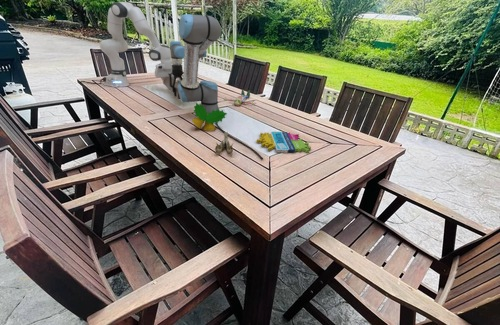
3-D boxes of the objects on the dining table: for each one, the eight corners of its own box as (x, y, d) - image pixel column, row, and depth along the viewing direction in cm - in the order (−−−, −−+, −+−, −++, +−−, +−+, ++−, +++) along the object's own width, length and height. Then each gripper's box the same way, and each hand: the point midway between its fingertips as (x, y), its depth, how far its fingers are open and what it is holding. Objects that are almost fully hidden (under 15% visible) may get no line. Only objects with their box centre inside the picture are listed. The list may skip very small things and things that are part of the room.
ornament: (218, 133, 171) (224, 110, 169) (221, 134, 163) (227, 111, 161) (186, 125, 162) (192, 101, 160) (189, 126, 155) (195, 101, 153)
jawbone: (234, 135, 144) (233, 125, 135) (233, 160, 138) (232, 151, 129) (217, 135, 144) (216, 125, 135) (216, 160, 138) (214, 150, 129)
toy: (261, 91, 228) (254, 99, 202) (261, 99, 231) (253, 108, 205) (231, 87, 233) (220, 95, 207) (230, 95, 236) (219, 104, 210)
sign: (313, 150, 142) (258, 149, 139) (312, 153, 143) (258, 152, 140) (301, 132, 164) (254, 130, 161) (301, 134, 165) (254, 133, 162)
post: (185, 99, 197) (185, 89, 194) (178, 99, 195) (177, 89, 191) (169, 83, 238) (168, 74, 234) (163, 83, 236) (162, 74, 232)
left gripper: (177, 65, 230) (178, 81, 237) (153, 65, 221) (155, 82, 228) (179, 66, 225) (180, 82, 232) (154, 66, 216) (156, 83, 223)
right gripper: (188, 63, 198) (189, 94, 209) (162, 63, 190) (165, 95, 201) (190, 65, 192) (192, 96, 203) (165, 65, 184) (168, 98, 195)
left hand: (167, 82), depth 230 cm, fingers closed on post, 5 cm apart
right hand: (179, 95), depth 202 cm, fingers closed on post, 6 cm apart
